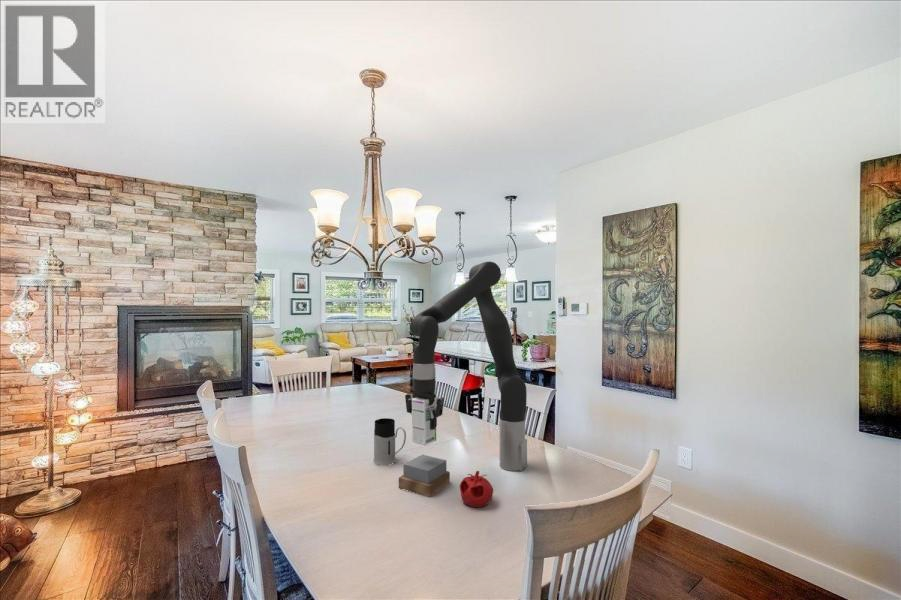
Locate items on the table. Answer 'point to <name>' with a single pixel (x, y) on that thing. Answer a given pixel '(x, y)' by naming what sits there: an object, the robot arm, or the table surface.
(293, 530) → the table surface
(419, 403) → the syrup box
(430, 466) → the charcoal top block
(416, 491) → the walnut base block
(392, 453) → the grey mug
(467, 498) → the pomegranate
